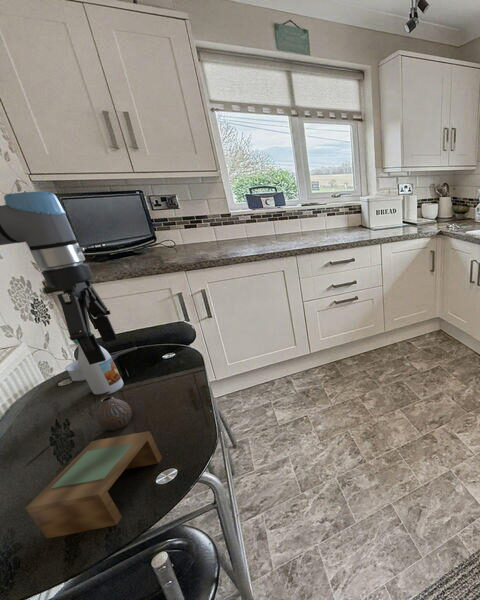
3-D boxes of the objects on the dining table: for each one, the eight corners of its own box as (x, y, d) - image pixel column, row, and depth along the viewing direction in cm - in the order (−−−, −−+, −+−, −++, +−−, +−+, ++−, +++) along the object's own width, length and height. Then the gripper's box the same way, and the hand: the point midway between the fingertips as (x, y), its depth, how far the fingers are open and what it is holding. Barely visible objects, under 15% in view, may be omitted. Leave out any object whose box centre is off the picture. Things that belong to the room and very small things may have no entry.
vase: (104, 425, 90) (90, 399, 86) (135, 413, 94) (122, 387, 90) (103, 438, 84) (88, 411, 81) (136, 425, 88) (123, 398, 85)
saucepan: (140, 366, 121) (135, 352, 119) (68, 388, 110) (61, 374, 108) (142, 354, 129) (136, 342, 128) (75, 374, 119) (68, 361, 117)
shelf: (46, 539, 60) (24, 507, 57) (107, 468, 75) (91, 440, 72) (116, 525, 61) (98, 493, 58) (162, 457, 76) (149, 430, 73)
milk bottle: (103, 399, 102) (74, 342, 95) (89, 395, 105) (60, 340, 98) (129, 384, 109) (104, 330, 102) (115, 381, 112) (90, 329, 105)
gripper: (68, 272, 63) (113, 366, 70) (99, 254, 83) (131, 329, 91) (14, 281, 60) (68, 379, 67) (60, 260, 80) (97, 337, 87)
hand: (104, 350), depth 79 cm, fingers open, 13 cm apart
